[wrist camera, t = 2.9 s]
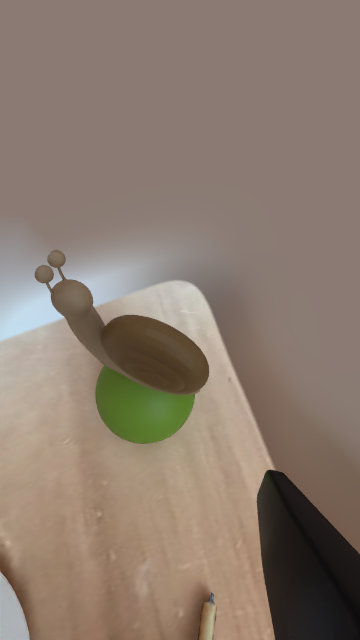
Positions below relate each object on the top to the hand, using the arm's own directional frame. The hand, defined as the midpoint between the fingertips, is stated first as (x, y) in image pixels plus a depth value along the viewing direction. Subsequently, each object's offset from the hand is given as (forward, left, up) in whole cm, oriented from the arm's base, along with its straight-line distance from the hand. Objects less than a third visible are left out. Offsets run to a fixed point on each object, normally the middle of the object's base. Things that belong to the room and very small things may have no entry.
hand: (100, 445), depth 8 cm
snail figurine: (+4, -2, -11) cm, 11 cm away
